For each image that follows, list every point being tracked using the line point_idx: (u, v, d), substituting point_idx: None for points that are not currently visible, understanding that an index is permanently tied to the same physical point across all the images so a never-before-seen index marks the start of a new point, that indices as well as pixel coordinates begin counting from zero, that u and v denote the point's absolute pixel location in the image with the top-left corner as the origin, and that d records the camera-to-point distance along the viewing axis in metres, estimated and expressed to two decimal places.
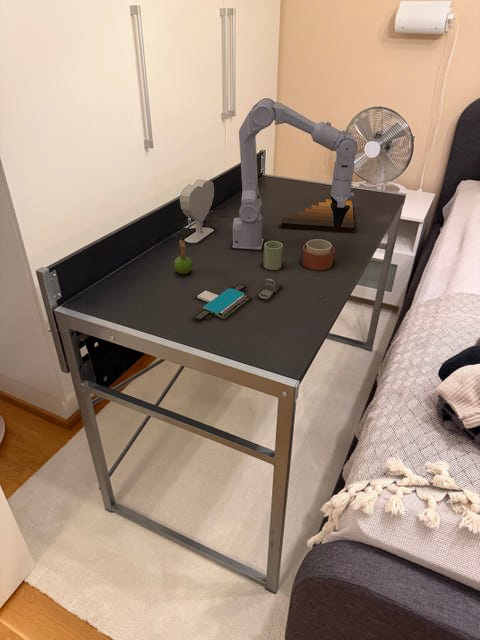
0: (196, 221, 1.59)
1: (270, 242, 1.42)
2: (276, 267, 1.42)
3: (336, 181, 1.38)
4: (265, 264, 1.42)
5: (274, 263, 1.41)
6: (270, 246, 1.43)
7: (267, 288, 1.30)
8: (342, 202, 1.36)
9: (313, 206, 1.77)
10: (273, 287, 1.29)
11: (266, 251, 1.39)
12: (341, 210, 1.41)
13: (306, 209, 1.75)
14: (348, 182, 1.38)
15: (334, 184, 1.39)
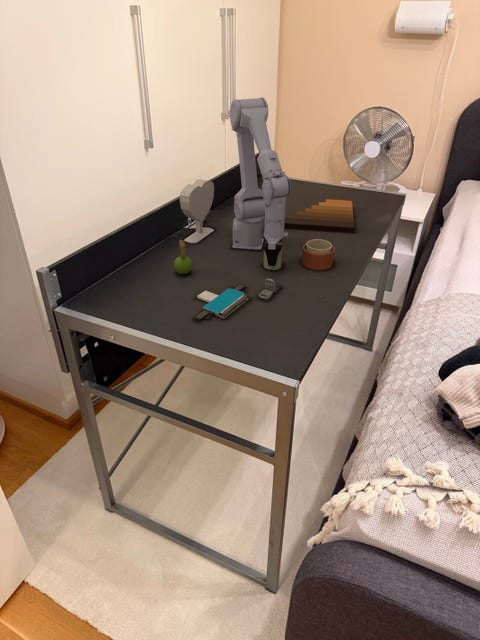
0: (196, 221, 1.59)
1: None
2: (276, 267, 1.42)
3: (267, 222, 1.34)
4: (265, 264, 1.42)
5: None
6: None
7: (267, 288, 1.30)
8: (273, 244, 1.32)
9: (313, 206, 1.77)
10: (273, 287, 1.29)
11: None
12: (274, 250, 1.37)
13: (306, 209, 1.75)
14: (280, 223, 1.34)
15: (266, 225, 1.35)
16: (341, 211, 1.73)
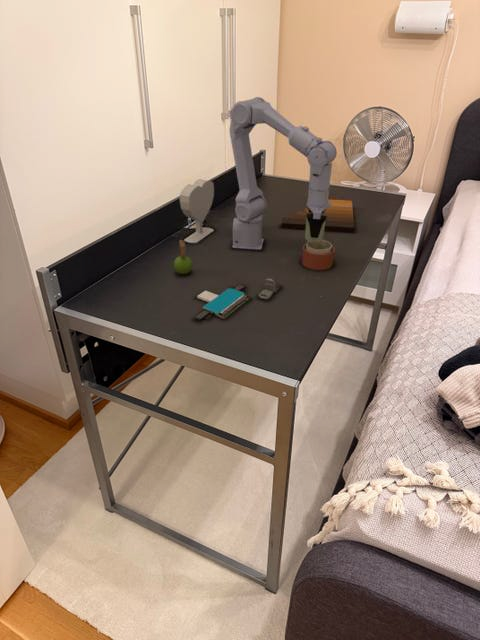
0: (196, 221, 1.59)
1: (312, 213, 1.39)
2: (318, 239, 1.38)
3: (312, 191, 1.31)
4: (307, 236, 1.39)
5: None
6: None
7: (267, 288, 1.30)
8: (318, 213, 1.29)
9: None
10: (273, 287, 1.29)
11: None
12: (318, 220, 1.34)
13: (306, 209, 1.75)
14: (324, 192, 1.31)
15: (310, 194, 1.32)
16: (341, 211, 1.73)
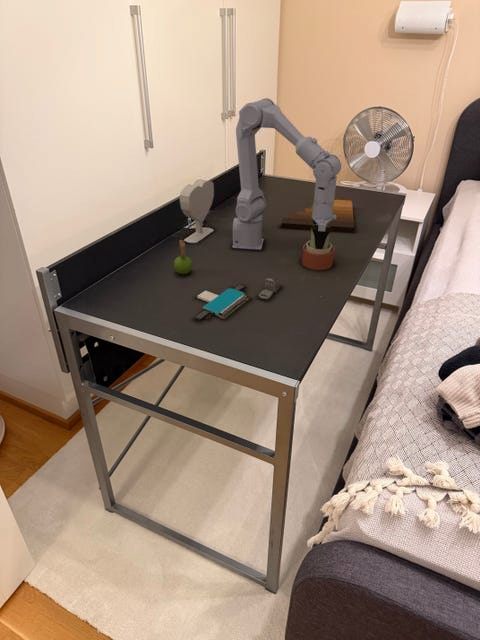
0: (196, 221, 1.59)
1: (317, 225, 1.41)
2: None
3: (317, 204, 1.33)
4: (312, 247, 1.41)
5: None
6: None
7: (267, 288, 1.30)
8: (323, 226, 1.31)
9: None
10: (273, 287, 1.29)
11: None
12: (322, 232, 1.36)
13: (306, 209, 1.75)
14: (329, 205, 1.33)
15: (315, 207, 1.34)
16: (341, 211, 1.73)
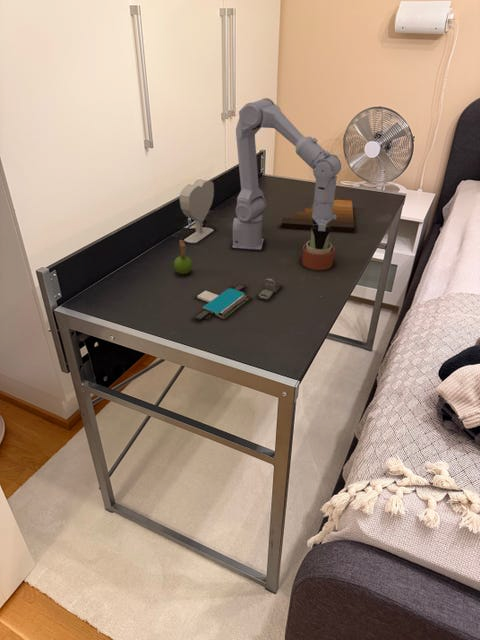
0: (196, 221, 1.59)
1: None
2: None
3: (317, 204, 1.33)
4: (312, 247, 1.41)
5: None
6: None
7: (267, 288, 1.30)
8: (323, 226, 1.31)
9: None
10: (273, 287, 1.29)
11: None
12: (322, 232, 1.36)
13: (306, 209, 1.75)
14: (329, 205, 1.33)
15: (315, 207, 1.34)
16: (341, 211, 1.73)
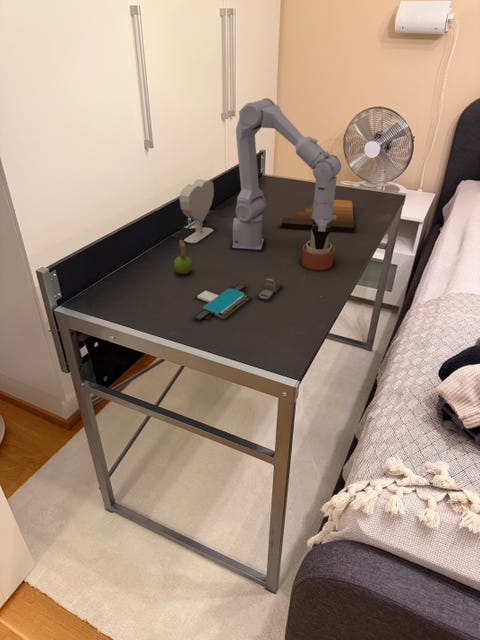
0: (196, 221, 1.59)
1: (317, 225, 1.41)
2: None
3: (317, 204, 1.33)
4: (312, 247, 1.41)
5: None
6: None
7: (267, 288, 1.30)
8: (323, 226, 1.31)
9: None
10: (273, 287, 1.29)
11: None
12: (322, 233, 1.36)
13: (306, 209, 1.75)
14: (329, 205, 1.33)
15: (315, 207, 1.34)
16: (341, 211, 1.73)
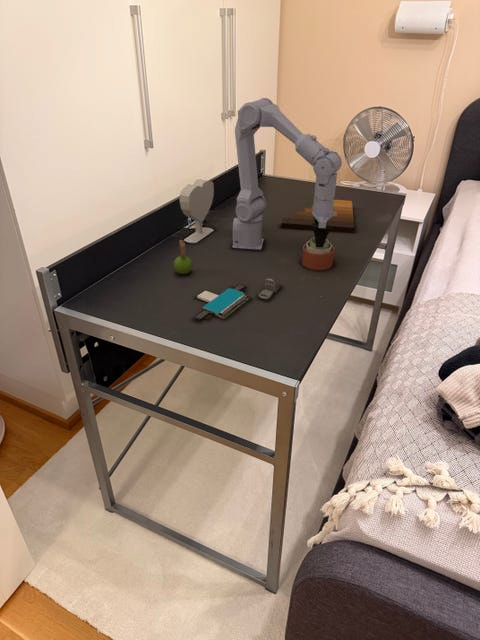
0: (196, 221, 1.59)
1: None
2: None
3: (317, 201, 1.33)
4: None
5: None
6: None
7: (267, 288, 1.30)
8: (323, 223, 1.31)
9: None
10: (273, 287, 1.29)
11: (312, 247, 1.41)
12: (323, 230, 1.35)
13: (306, 209, 1.75)
14: (330, 202, 1.32)
15: (315, 204, 1.34)
16: (341, 211, 1.73)
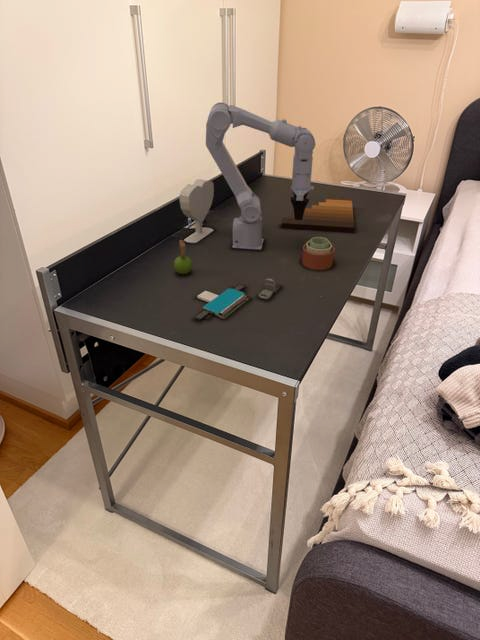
0: (196, 221, 1.59)
1: (315, 238, 1.44)
2: None
3: (295, 175, 1.42)
4: None
5: None
6: (315, 242, 1.44)
7: (267, 288, 1.30)
8: (301, 195, 1.40)
9: (313, 206, 1.77)
10: (273, 287, 1.29)
11: (312, 247, 1.41)
12: (301, 203, 1.44)
13: (306, 209, 1.75)
14: (307, 176, 1.41)
15: (294, 178, 1.43)
16: (341, 211, 1.73)
